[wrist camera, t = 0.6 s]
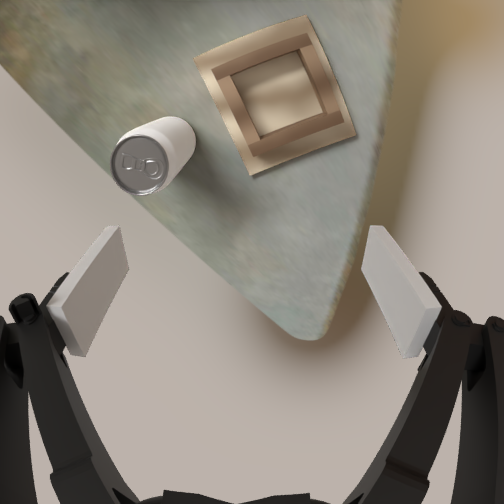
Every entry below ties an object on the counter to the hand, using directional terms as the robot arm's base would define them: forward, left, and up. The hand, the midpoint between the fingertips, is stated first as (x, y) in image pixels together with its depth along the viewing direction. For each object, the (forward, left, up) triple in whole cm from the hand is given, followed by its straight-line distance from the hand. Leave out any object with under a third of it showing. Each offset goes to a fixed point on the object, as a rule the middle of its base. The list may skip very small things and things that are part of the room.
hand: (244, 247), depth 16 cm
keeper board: (-5, +6, -23) cm, 25 cm away
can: (-5, -8, -24) cm, 25 cm away
